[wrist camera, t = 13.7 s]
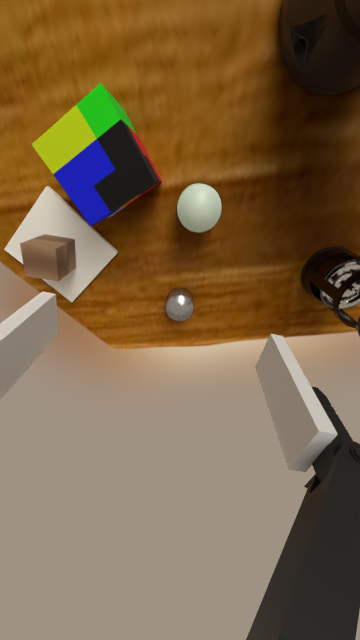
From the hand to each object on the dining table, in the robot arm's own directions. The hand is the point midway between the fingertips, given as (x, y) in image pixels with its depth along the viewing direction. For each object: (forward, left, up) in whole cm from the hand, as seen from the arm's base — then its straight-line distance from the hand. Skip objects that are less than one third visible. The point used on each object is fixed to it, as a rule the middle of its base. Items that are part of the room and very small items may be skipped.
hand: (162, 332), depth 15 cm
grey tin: (+12, +2, -30) cm, 33 cm away
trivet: (+6, -20, -30) cm, 37 cm away
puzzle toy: (-8, -11, -31) cm, 33 cm away
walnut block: (+6, -20, -30) cm, 36 cm away
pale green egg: (-5, +2, -30) cm, 31 cm away
